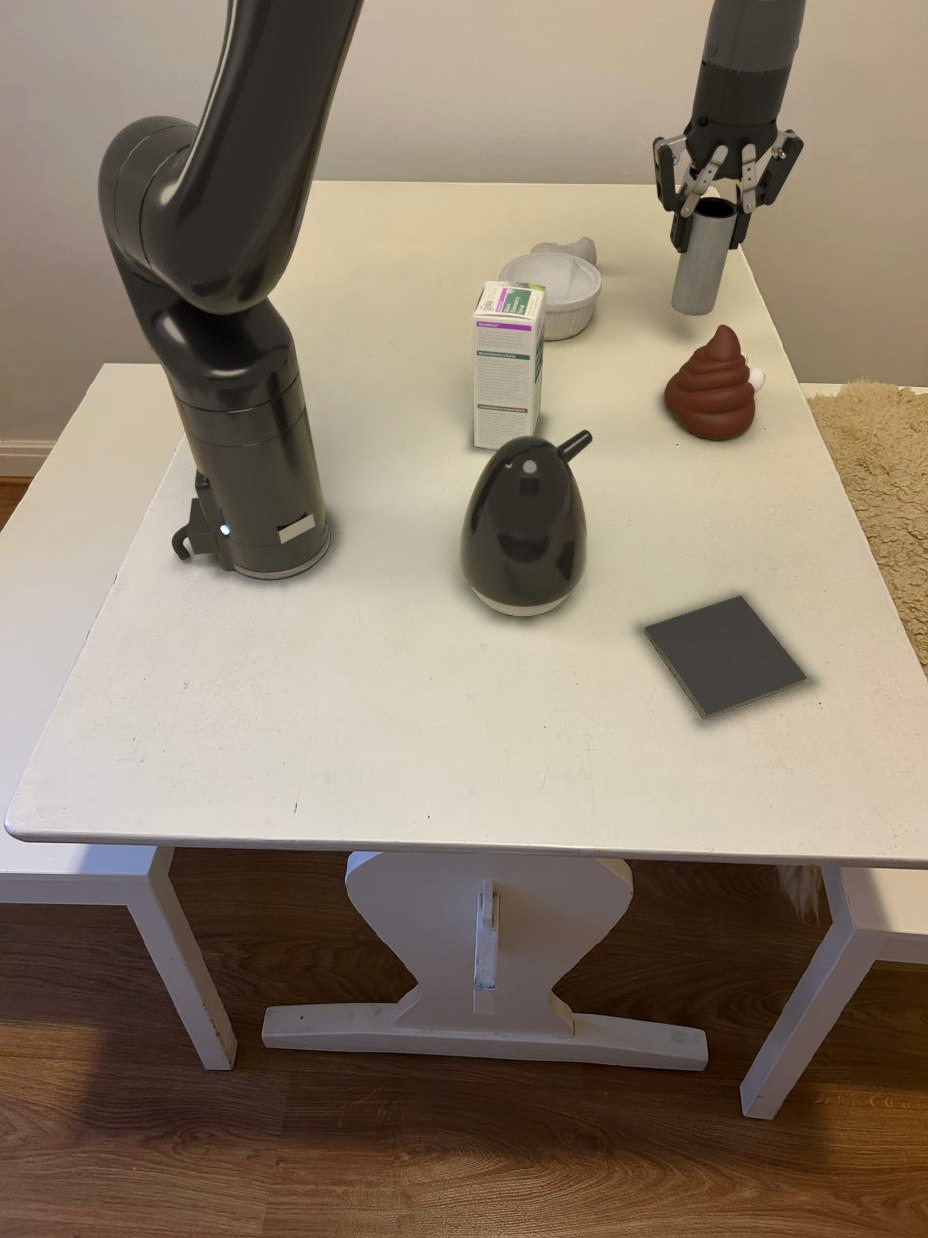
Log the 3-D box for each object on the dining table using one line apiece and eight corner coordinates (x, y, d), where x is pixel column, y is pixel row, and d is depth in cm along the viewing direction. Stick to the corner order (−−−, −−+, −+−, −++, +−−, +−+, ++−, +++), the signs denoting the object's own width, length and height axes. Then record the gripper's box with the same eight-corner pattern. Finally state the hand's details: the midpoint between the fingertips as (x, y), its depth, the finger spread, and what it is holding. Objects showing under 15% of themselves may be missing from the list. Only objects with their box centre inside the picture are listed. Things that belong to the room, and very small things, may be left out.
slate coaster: (704, 720, 62) (705, 715, 61) (643, 631, 67) (645, 626, 67) (805, 682, 64) (808, 677, 63) (739, 599, 69) (741, 594, 69)
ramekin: (614, 334, 94) (620, 290, 90) (523, 356, 91) (525, 312, 87) (569, 286, 101) (574, 243, 96) (483, 305, 98) (484, 261, 94)
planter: (708, 293, 90) (732, 195, 82) (718, 316, 87) (743, 217, 79) (666, 294, 90) (686, 196, 82) (674, 317, 87) (696, 218, 79)
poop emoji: (646, 394, 87) (662, 311, 80) (717, 376, 89) (739, 294, 82) (696, 452, 81) (718, 369, 74) (771, 432, 83) (800, 349, 76)
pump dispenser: (607, 604, 69) (636, 460, 57) (500, 654, 66) (506, 514, 54) (540, 528, 75) (553, 383, 63) (438, 571, 71) (431, 427, 60)
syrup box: (531, 455, 81) (540, 319, 70) (471, 447, 82) (471, 311, 70) (539, 419, 84) (550, 283, 73) (482, 412, 85) (483, 277, 74)
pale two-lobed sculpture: (531, 292, 102) (526, 260, 104) (596, 288, 102) (590, 256, 104) (533, 266, 98) (528, 232, 100) (601, 261, 98) (595, 228, 100)
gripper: (813, 32, 74) (761, 225, 87) (654, 39, 73) (626, 234, 86) (848, 62, 69) (787, 262, 82) (678, 70, 68) (644, 271, 81)
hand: (704, 246), depth 84 cm, fingers closed on planter, 4 cm apart
